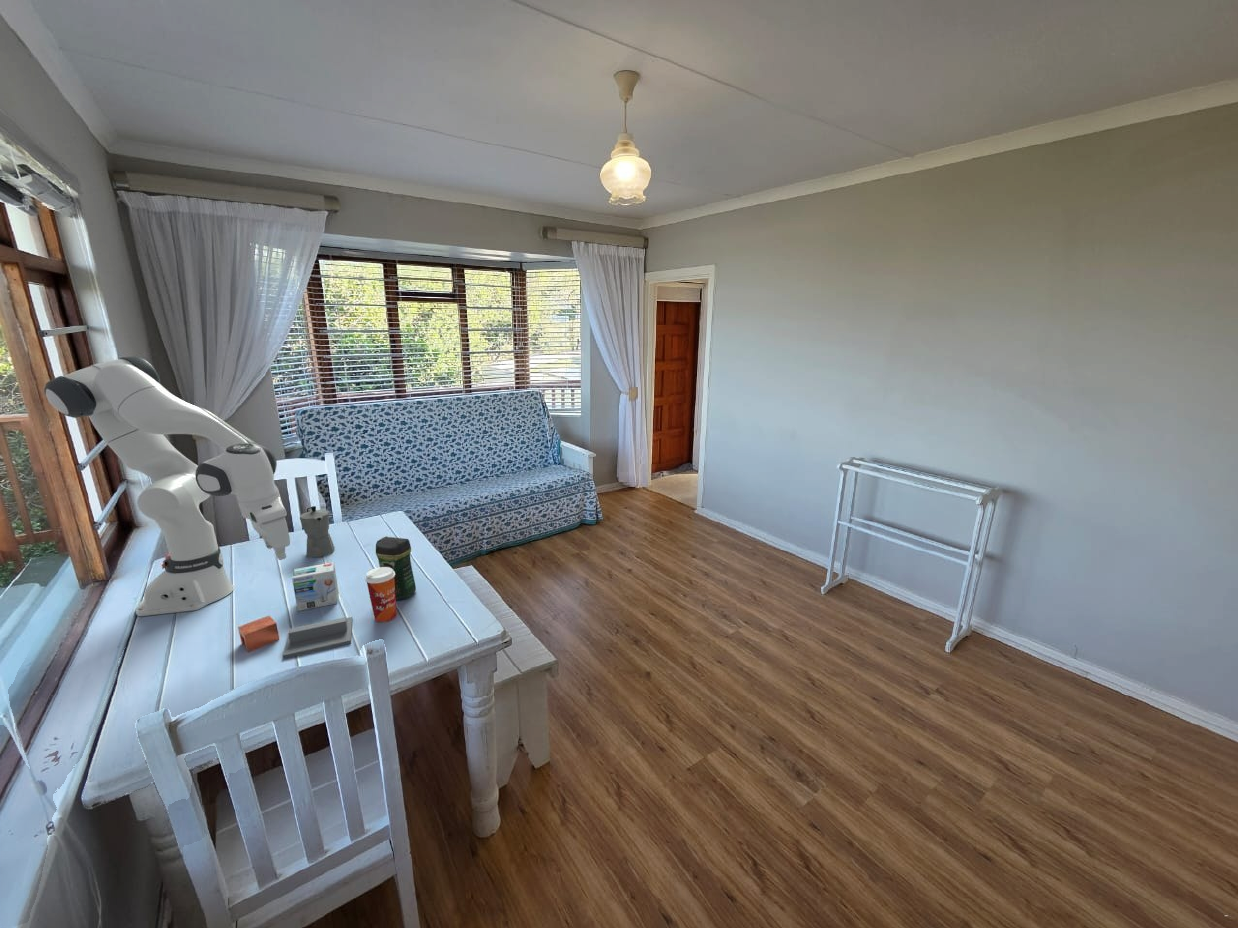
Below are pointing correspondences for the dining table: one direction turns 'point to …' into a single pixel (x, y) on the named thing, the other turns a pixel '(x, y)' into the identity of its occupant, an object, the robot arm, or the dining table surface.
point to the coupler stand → (318, 637)
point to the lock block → (258, 633)
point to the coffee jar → (397, 564)
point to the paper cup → (382, 593)
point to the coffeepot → (317, 532)
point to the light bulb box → (315, 586)
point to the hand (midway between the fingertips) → (276, 552)
